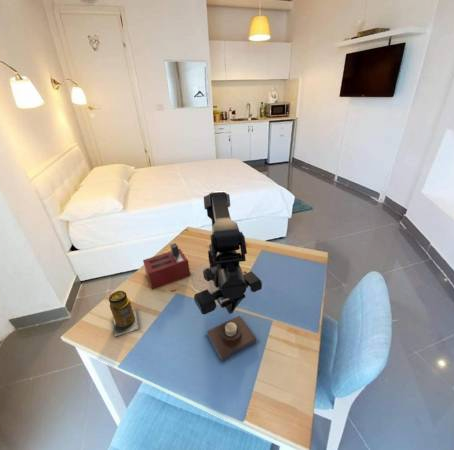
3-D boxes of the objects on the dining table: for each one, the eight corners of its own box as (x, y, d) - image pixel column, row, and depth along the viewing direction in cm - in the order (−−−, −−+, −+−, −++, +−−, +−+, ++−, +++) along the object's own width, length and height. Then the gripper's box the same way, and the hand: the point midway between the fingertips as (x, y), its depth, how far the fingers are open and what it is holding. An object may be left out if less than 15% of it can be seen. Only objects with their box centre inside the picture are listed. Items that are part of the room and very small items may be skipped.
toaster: (182, 262, 114) (179, 248, 110) (190, 275, 106) (188, 259, 102) (146, 275, 107) (142, 259, 103) (152, 289, 99) (148, 273, 96)
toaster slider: (176, 250, 108) (175, 243, 106) (179, 254, 106) (177, 246, 104) (171, 252, 107) (170, 244, 105) (173, 255, 105) (172, 248, 103)
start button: (233, 324, 79) (233, 320, 78) (239, 333, 77) (238, 328, 76) (223, 329, 78) (222, 325, 77) (228, 338, 75) (228, 334, 74)
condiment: (135, 310, 90) (127, 285, 84) (138, 328, 83) (130, 302, 77) (113, 318, 87) (103, 293, 81) (114, 337, 80) (104, 311, 75)
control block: (239, 320, 85) (239, 311, 83) (256, 342, 78) (256, 333, 76) (207, 335, 80) (206, 327, 78) (221, 361, 73) (221, 353, 71)
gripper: (242, 245, 76) (242, 284, 83) (183, 266, 68) (190, 307, 75) (263, 265, 67) (262, 306, 75) (199, 291, 59) (205, 334, 67)
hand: (230, 312), depth 73 cm, fingers closed
